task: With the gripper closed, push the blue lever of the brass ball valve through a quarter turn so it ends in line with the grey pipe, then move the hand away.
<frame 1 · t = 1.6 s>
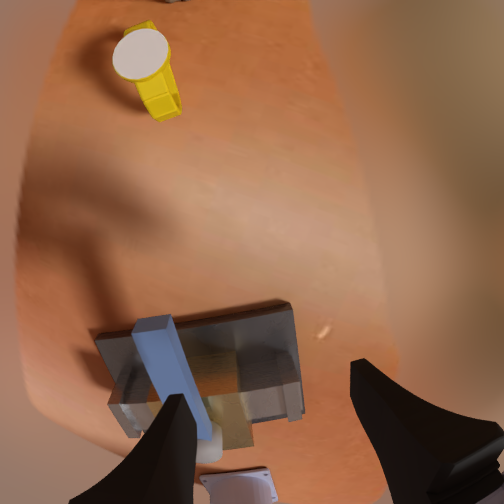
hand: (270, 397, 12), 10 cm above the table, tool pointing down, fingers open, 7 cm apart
valve: (206, 377, 24), on the table
watch: (163, 80, 17), on the table
lever: (182, 400, 16), point 7 cm above the table, hinge at 0.0°
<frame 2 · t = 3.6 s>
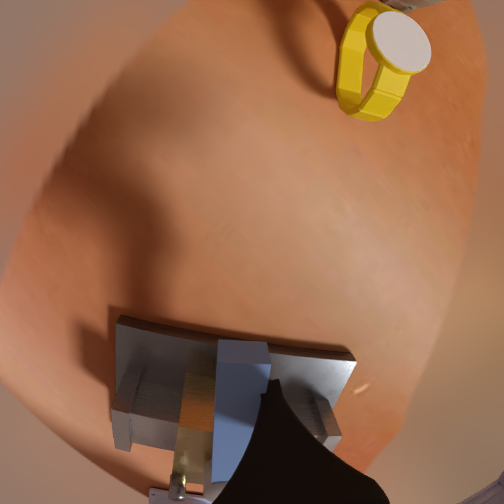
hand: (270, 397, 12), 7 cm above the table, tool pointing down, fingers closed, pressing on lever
valve: (224, 401, 20), on the table
watch: (347, 72, 15), on the table
lever: (232, 440, 13), point 7 cm above the table, hinge at 7.4°, touching gripper
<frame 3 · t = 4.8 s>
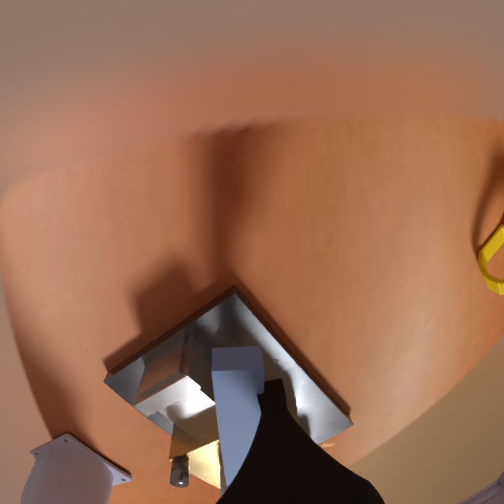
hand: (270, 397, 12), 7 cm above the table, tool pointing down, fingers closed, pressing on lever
valve: (237, 404, 20), on the table
watch: (490, 243, 19), on the table
lever: (241, 444, 13), point 7 cm above the table, hinge at 54.6°, touching gripper
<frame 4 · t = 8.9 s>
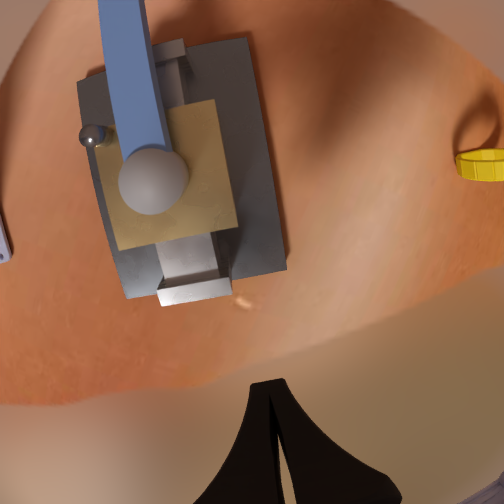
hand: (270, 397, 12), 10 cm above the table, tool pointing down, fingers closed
valve: (179, 169, 19), on the table
watch: (468, 159, 20), on the table
lever: (135, 87, 11), point 7 cm above the table, hinge at 91.7°
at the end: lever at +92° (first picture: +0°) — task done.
